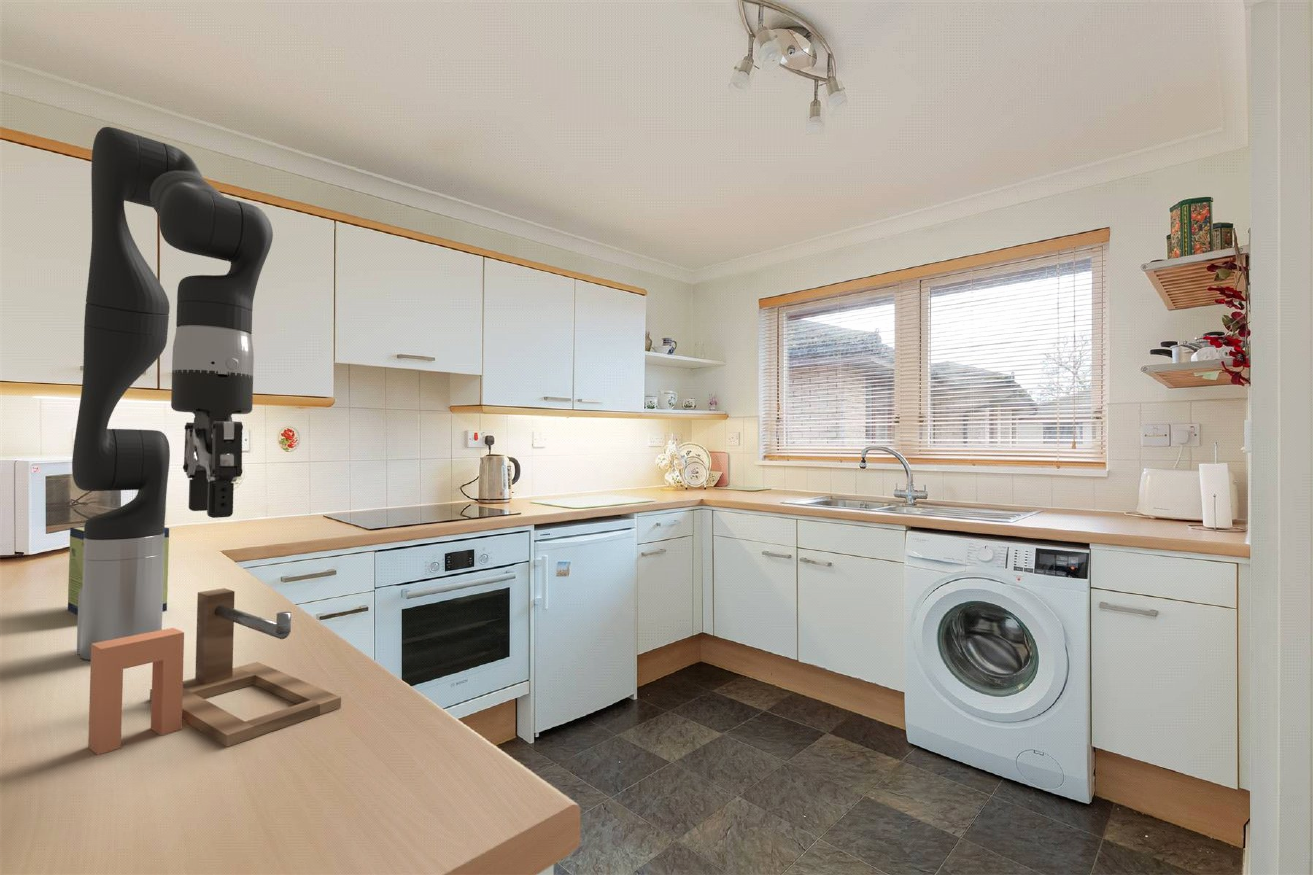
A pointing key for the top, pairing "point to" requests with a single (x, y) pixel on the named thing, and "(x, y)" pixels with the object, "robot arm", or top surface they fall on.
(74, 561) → the protein box
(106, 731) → the salmon wooden arch
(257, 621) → the hook arm
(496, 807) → the top surface
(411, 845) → the top surface
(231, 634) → the wooden hook stand
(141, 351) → the robot arm
